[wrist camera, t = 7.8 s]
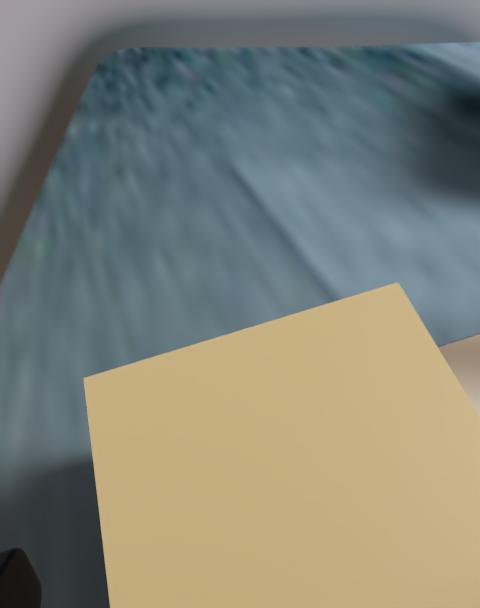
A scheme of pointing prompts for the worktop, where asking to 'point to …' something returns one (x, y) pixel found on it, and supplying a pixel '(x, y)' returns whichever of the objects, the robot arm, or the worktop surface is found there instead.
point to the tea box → (291, 467)
